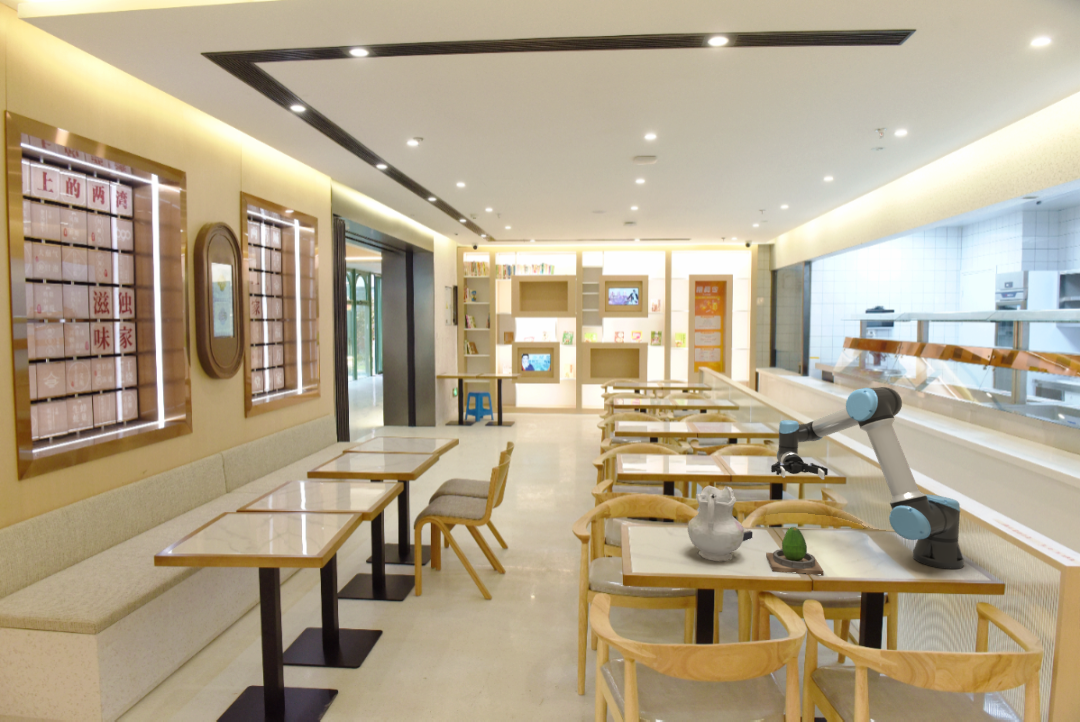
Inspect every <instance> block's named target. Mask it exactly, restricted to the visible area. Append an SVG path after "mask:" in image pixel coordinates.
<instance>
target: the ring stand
mask: <svg viewBox="0 0 1080 722" xmlns="http://www.w3.org/2000/svg"><path fill="white" fill-rule="evenodd" d="M765 554H766V561H768V564H769V566H770V569H771V570H772V571H771V572H774V573H775V572H777V573H787V572H796V573H795V574H799V573H806V574H805V575H811V574H821V575H820V576H824V573H825V572H824V570H823V568H822V567H821V565H820V564H819V562H818V560H817V559H816V557H815V555H813V554H811V553H809V552H808V551H807V552H806V554H805V557H804V558H803V559H802V560H800V561H790V560H788V559H787V558H786V557H785V556H784V553H783V549H782V548H781V549H777V550H775V551H773V552H766V553H765Z"/></svg>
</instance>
